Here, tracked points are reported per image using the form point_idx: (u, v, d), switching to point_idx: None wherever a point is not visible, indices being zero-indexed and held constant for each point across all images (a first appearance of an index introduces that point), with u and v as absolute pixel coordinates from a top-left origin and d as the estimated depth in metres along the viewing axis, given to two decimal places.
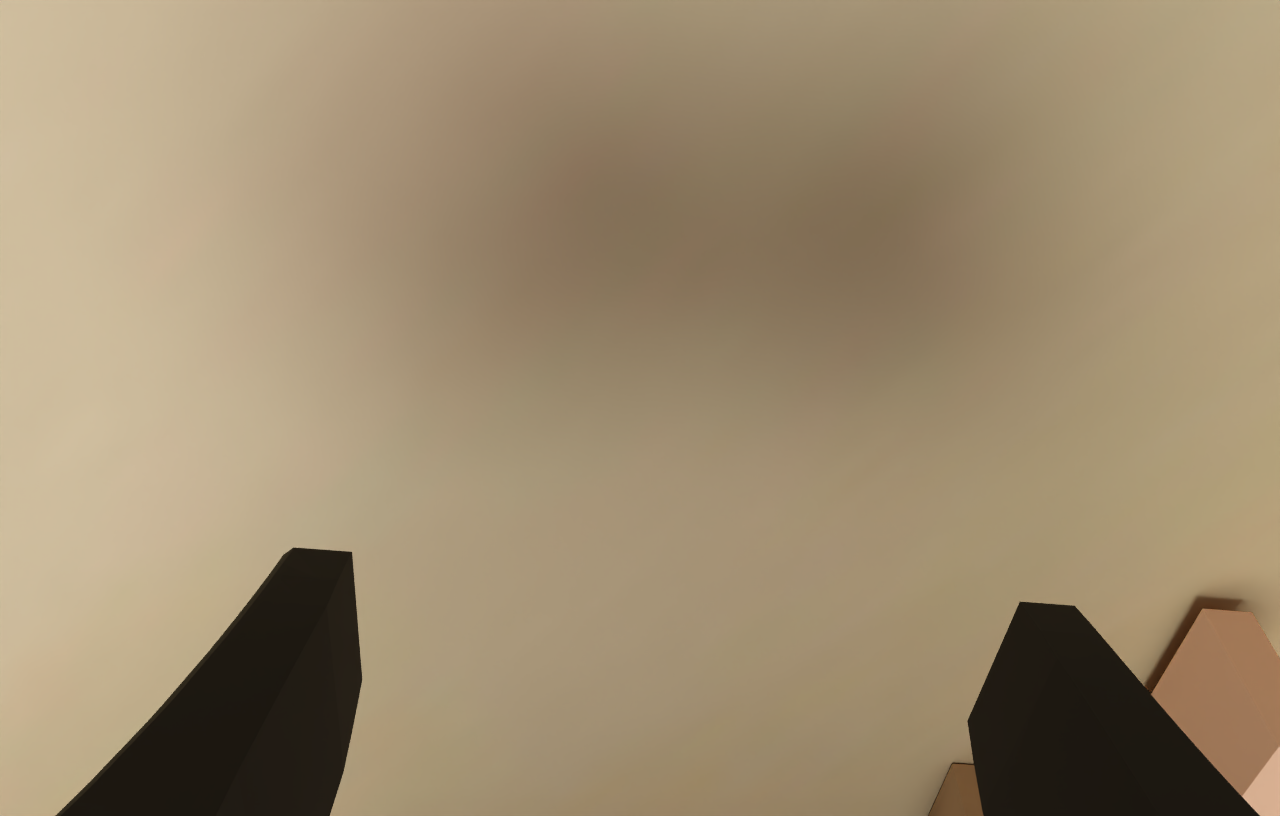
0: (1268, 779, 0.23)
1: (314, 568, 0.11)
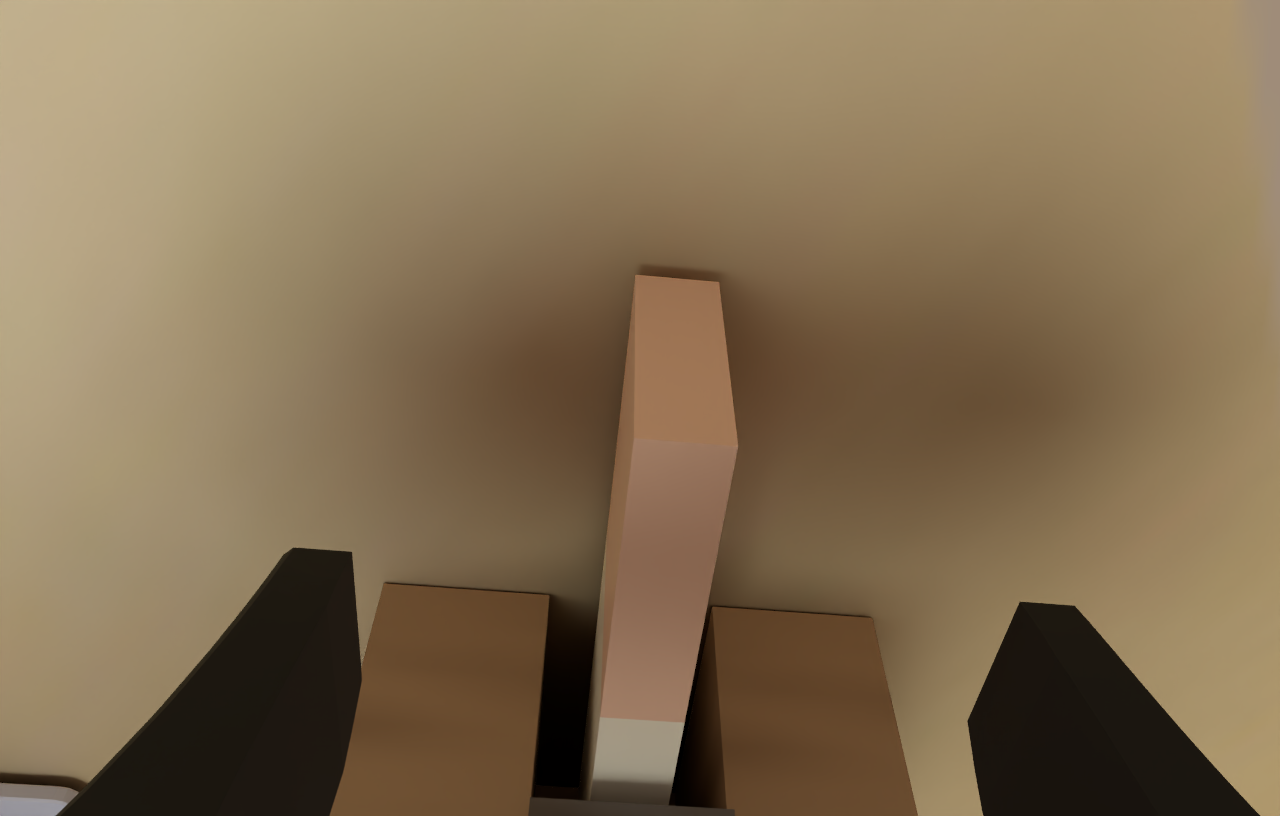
0: (650, 511, 0.13)
1: (313, 568, 0.11)
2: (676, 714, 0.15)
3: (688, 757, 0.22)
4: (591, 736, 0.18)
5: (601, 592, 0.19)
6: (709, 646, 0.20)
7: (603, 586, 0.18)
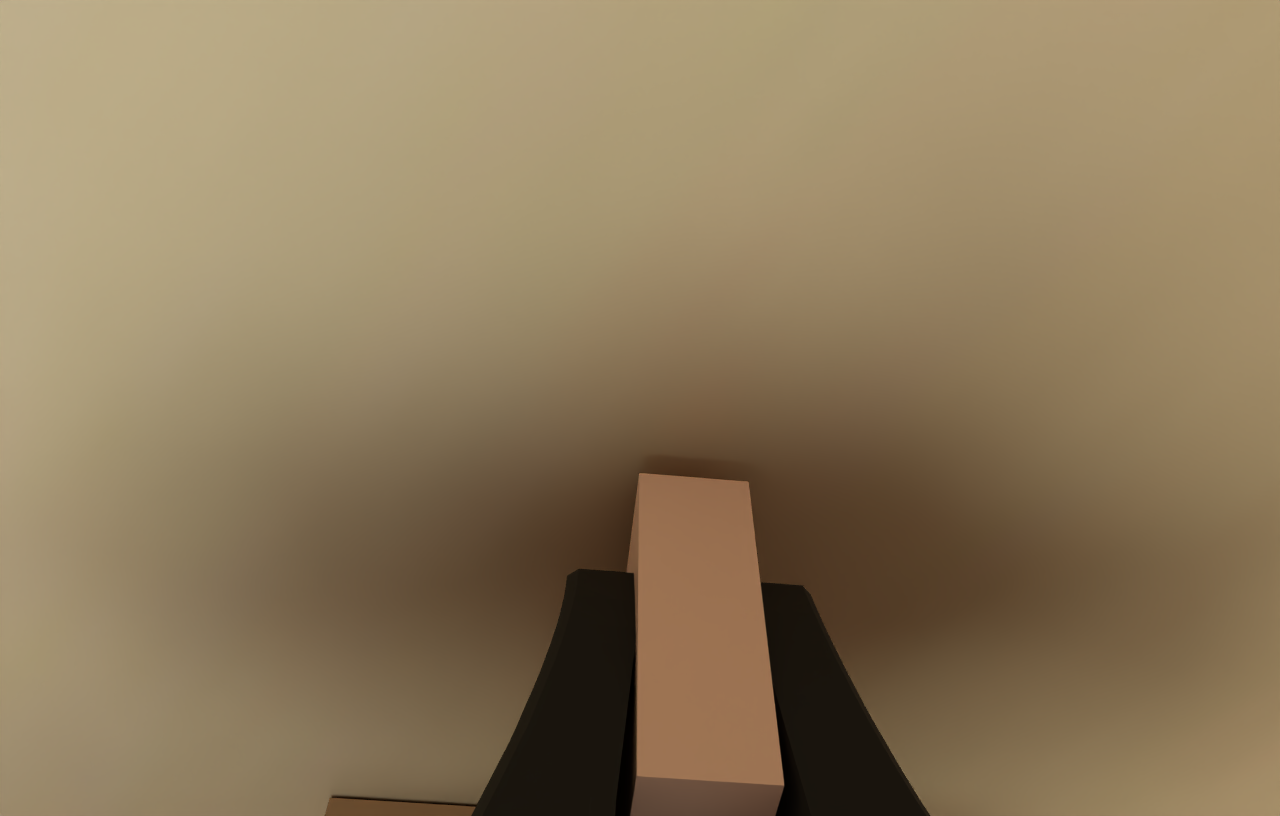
0: None
1: (609, 589, 0.11)
2: None
3: None
4: None
5: None
6: None
7: None
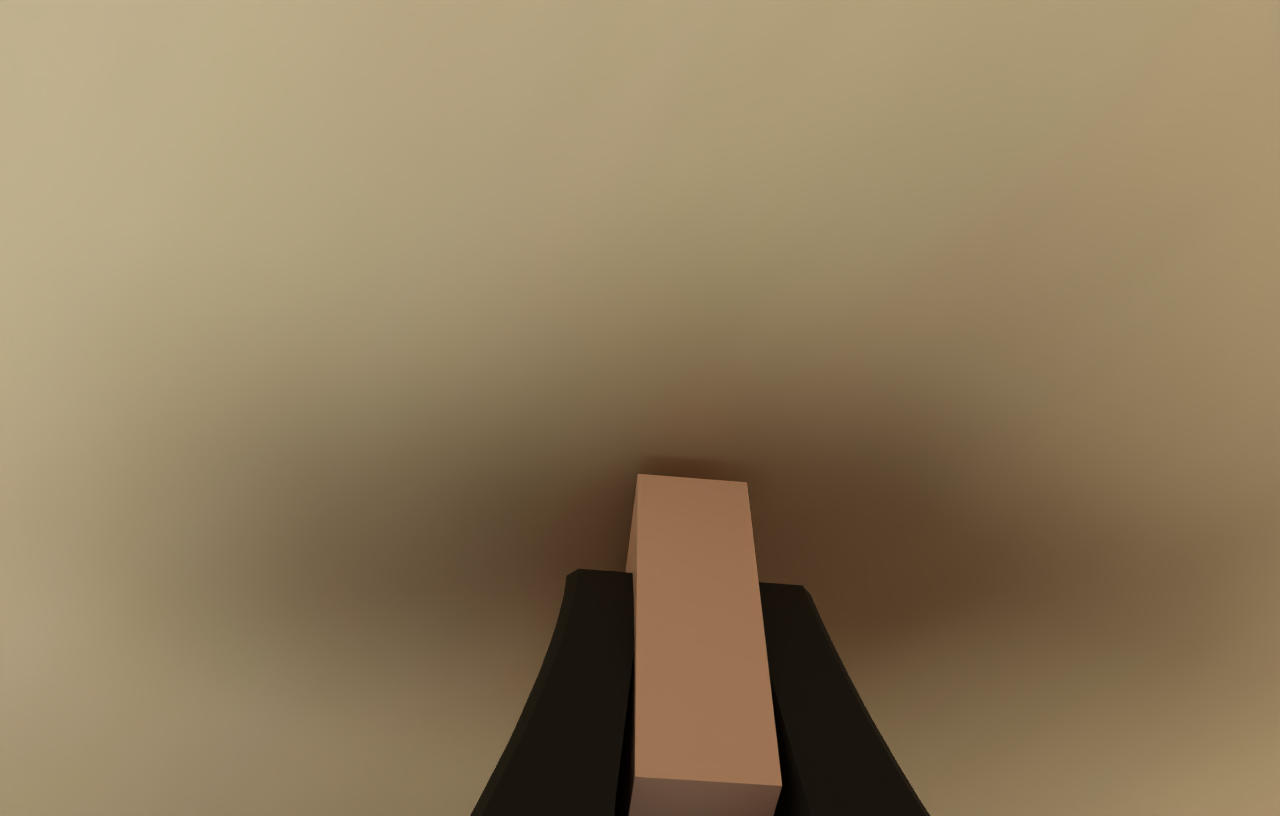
0: None
1: (608, 590, 0.11)
2: None
3: None
4: None
5: None
6: None
7: None
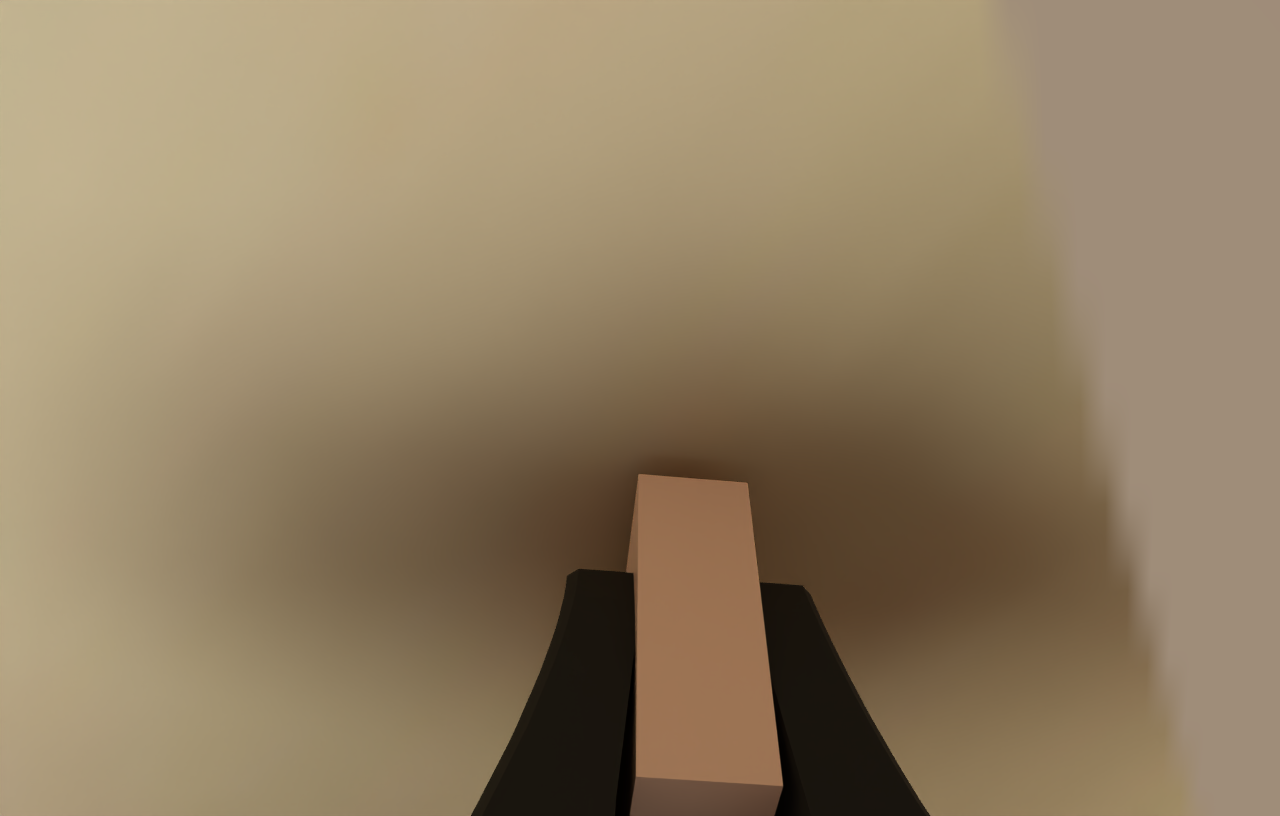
0: None
1: (608, 589, 0.11)
2: None
3: None
4: None
5: None
6: None
7: None
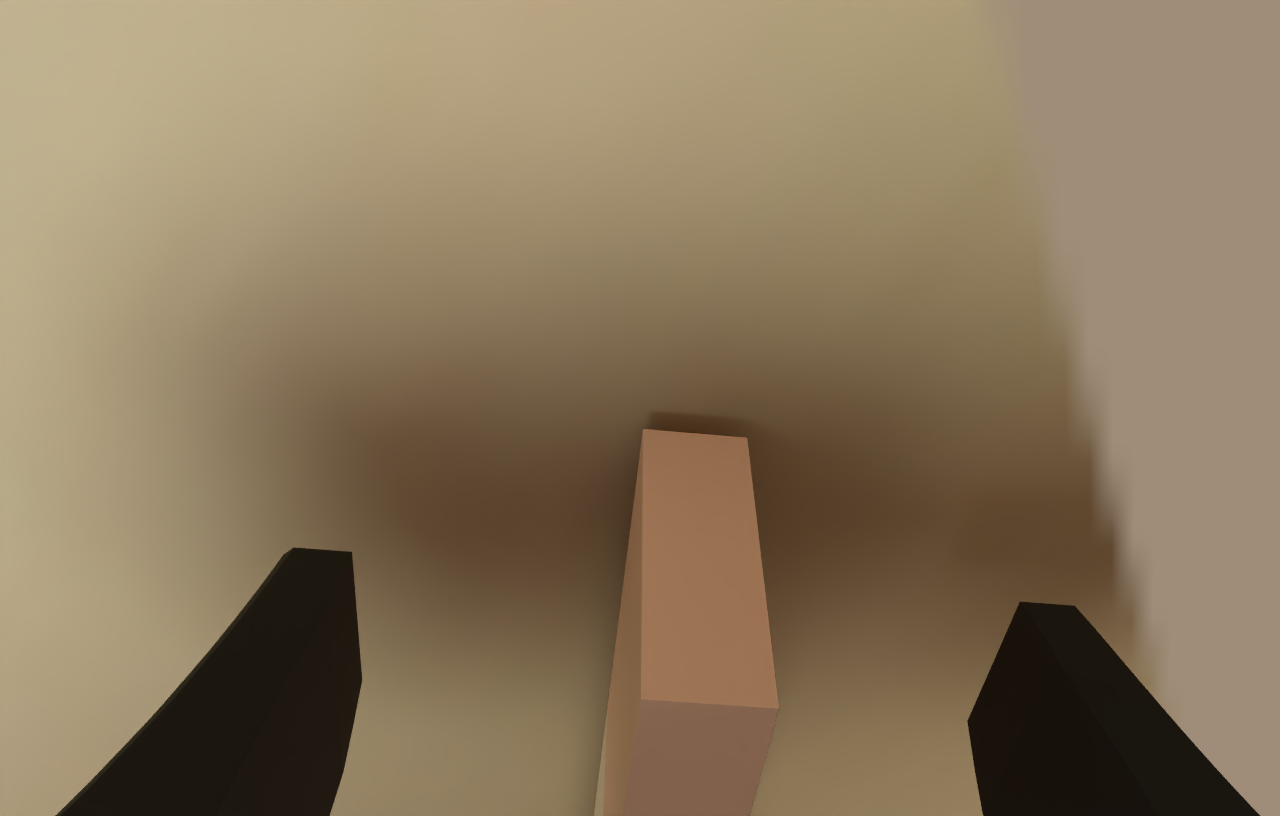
0: (661, 776, 0.10)
1: (313, 569, 0.11)
2: None
3: None
4: None
5: (600, 774, 0.16)
6: None
7: (602, 775, 0.15)
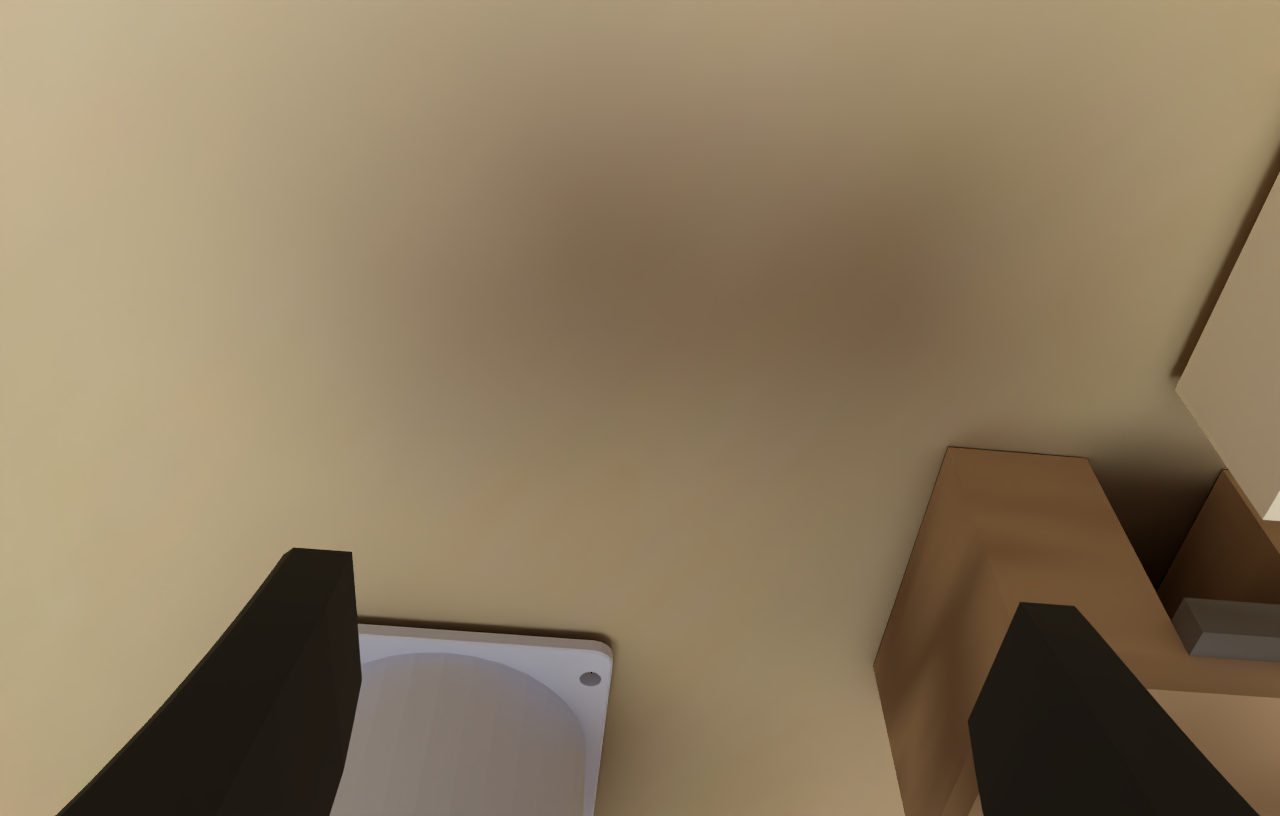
0: None
1: (313, 568, 0.11)
2: None
3: (1168, 609, 0.25)
4: None
5: None
6: (1222, 503, 0.23)
7: None
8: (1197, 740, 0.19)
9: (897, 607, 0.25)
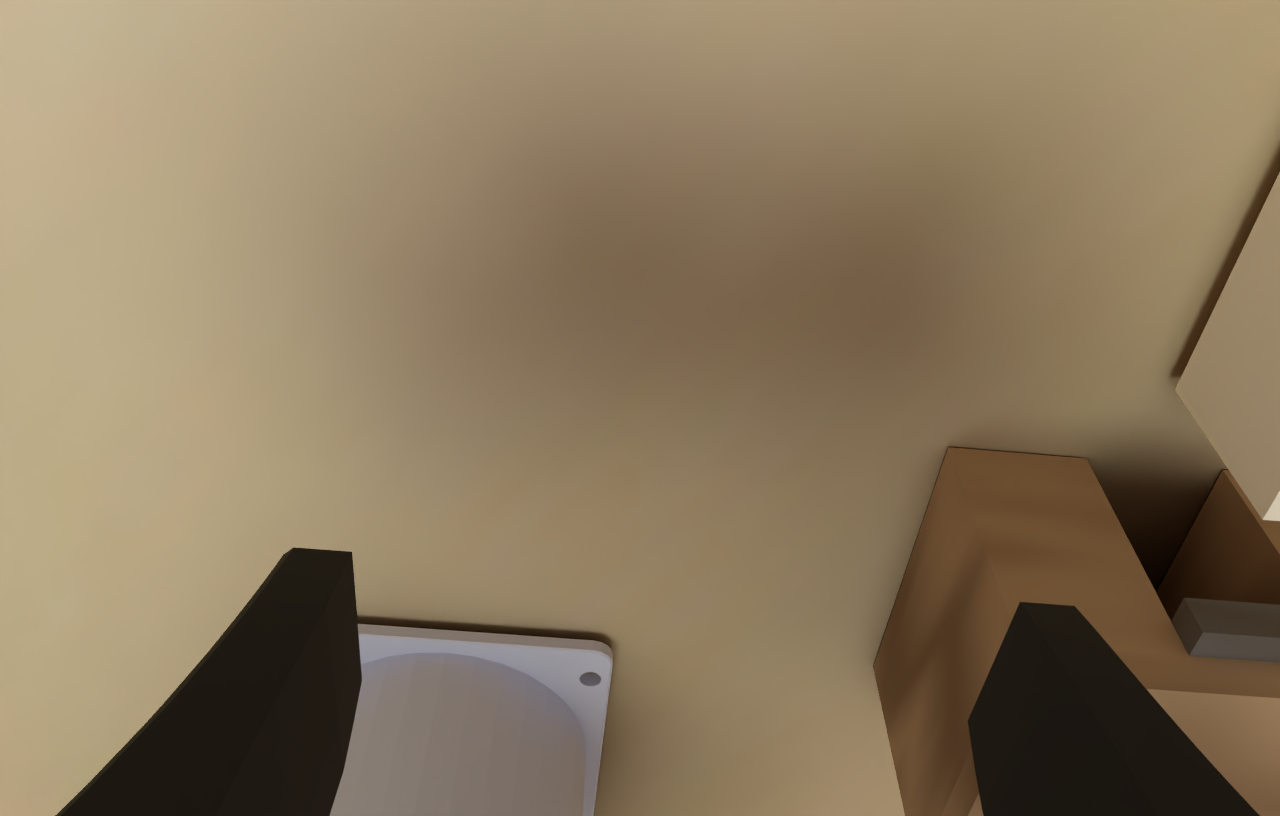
0: None
1: (313, 569, 0.11)
2: None
3: (1168, 609, 0.25)
4: None
5: None
6: (1221, 503, 0.23)
7: None
8: (1196, 740, 0.19)
9: (897, 607, 0.25)
